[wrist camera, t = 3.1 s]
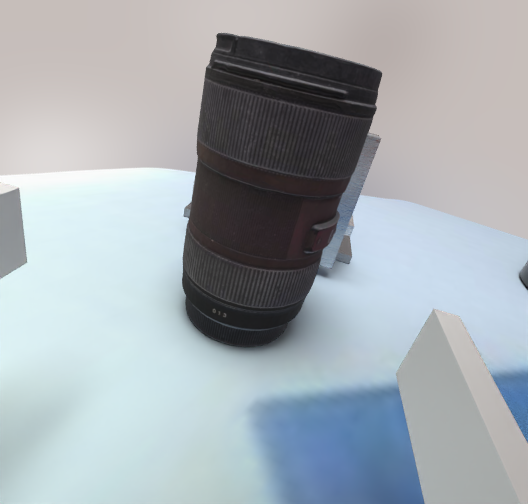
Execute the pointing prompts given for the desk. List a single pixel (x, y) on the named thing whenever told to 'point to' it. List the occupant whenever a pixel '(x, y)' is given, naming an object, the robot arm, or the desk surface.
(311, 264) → the camera lens
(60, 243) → the desk surface
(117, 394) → the desk surface
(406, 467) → the desk surface
